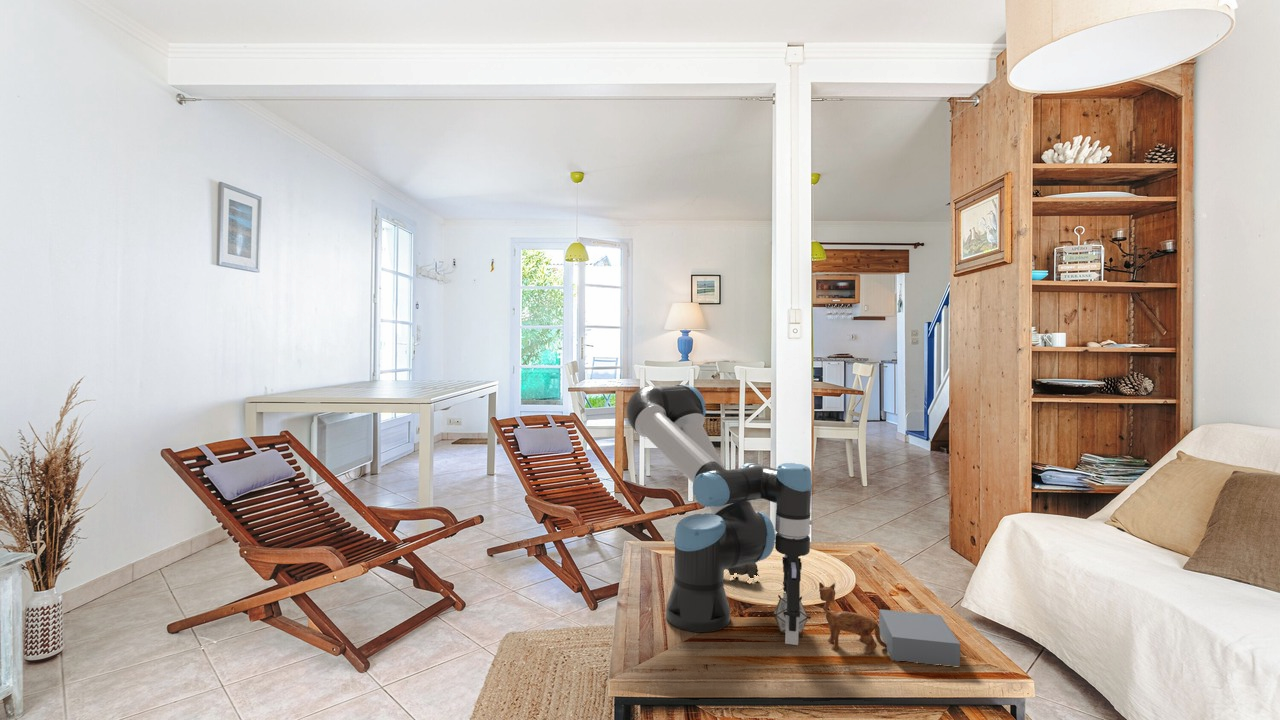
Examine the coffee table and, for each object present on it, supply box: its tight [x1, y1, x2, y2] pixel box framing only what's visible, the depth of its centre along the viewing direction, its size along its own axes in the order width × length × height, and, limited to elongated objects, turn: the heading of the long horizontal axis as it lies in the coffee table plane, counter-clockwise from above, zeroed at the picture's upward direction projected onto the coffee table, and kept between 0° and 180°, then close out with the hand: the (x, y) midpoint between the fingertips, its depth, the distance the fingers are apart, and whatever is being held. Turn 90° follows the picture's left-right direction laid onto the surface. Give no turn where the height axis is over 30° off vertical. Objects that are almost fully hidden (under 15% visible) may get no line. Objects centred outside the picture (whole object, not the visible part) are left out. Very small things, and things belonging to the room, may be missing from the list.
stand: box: [878, 608, 961, 667], centre depth 129 cm, size 13×13×5 cm
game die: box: [769, 594, 812, 638], centre depth 135 cm, size 9×8×10 cm
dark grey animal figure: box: [725, 563, 760, 579], centre depth 165 cm, size 4×14×6 cm, turn 69°
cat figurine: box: [818, 582, 887, 655], centre depth 129 cm, size 18×7×14 cm, turn 86°
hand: (790, 632), depth 135 cm, fingers closed on game die, 10 cm apart
